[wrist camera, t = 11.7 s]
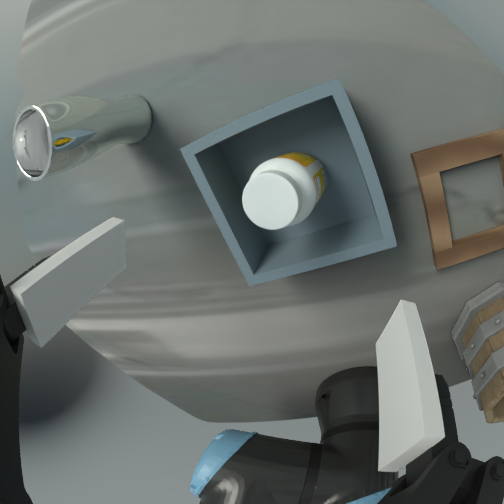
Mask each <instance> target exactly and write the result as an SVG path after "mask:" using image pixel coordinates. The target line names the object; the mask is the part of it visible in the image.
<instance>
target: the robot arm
mask: <svg viewBox="0 0 504 504" xmlns="http://www.w3.org/2000/svg"><path fill="white" fill-rule="evenodd" d="M126 268H127V267H126V251H125V227H124V220H121V219H118V218H114V217H112V218H110V219H108V220H107V221H105V222H104V223H102V224H100V225H99V226H97V227H95V228H94V229H92V230H91V231H89V232H87V233H86V234H84V235H83V236H81V237H80V238H78V239H76V240H75V241H73V242H72V243H70V244H69V245H67V246H66V247H64V248H63V249H61V250H60V251H58V252H57V253H55V254H54V255H52V256H49V257H47V258H44V259H42V260H41V261H39V262H38V263H36V264H35V266H32V267H31V268H30V269H28V271H25V272H24V273H23V274H21V275H20V276H19V277H17V278H16V279H15V280H13V281H12V282H11V283H9V284H8V285H7V286H5V287H4V285H3V282H2V279H1V276H0V504H33V503H32V501H31V499H30V497H29V495H28V494H27V492H26V490H25V488H24V484H23V476H22V469H21V458H20V444H19V386H20V371H21V361H22V351H23V344H24V336H23V334H22V333H23V332H24V331H25V330H27V333H28V335H29V337H30V339H31V340H32V341H33V342H34V343H36V344H37V345H39V346H40V347H41V348H42V347H43V346H44V345H45V344H46V343H47V342H48V341H49V340H50V339H51V338H52V337H53V336H54V335H55V334H56V333H57V332H58V331H59V330H60V329H61V328H62V327H63V326H64V325H65V324H66V323H67V322H68V321H69V320H70V319H71V318H72V317H73V316H75V315H76V314H77V313H78V312H79V311H80V310H81V309H82V308H83V307H84V306H85V305H86V304H87V303H88V302H89V301H90V300H92V299H93V298H94V297H95V296H96V295H97V294H98V293H99V292H100V291H101V290H102V289H104V288H105V287H106V286H107V285H108V284H109V283H110V282H111V281H112V280H114V279H115V278H116V277H117V276H118V275H119V274H120V273H121V272H123V271H124V270H125V269H126ZM376 354H377V367H358V368H352V369H348V370H344V371H341V372H338V373H336V374H334V375H332V376H330V377H328V378H327V379H326V380H324V381H323V382H322V383H321V385H320V386H319V388H318V390H317V394H316V401H315V408H316V412H317V417H318V421H319V425H320V429H321V442H320V444H318V443H309V442H301V441H295V440H288V439H282V438H276V437H271V436H265V435H261V434H258V433H257V432H253V433H250V432H245V431H239V430H233V429H231V430H225V431H223V432H221V433H219V434H218V435H217V436H216V437H215V438H214V439H213V440H212V442H211V443H210V444H209V446H208V447H207V448H206V450H205V452H204V453H203V455H202V457H201V459H200V461H199V463H198V464H197V467H196V469H195V471H194V474H193V477H192V481H191V482H192V484H191V486H190V491H191V493H192V494H193V495H195V496H196V497H197V498H201V501H200V504H502V502H503V498H504V459H502V458H501V457H498V456H495V457H492V458H491V459H489V460H488V461H486V462H482V461H479V460H476V459H473V458H471V454H470V451H469V449H468V448H467V447H466V446H465V445H464V444H462V443H461V442H459V441H458V435H457V429H456V423H455V417H454V412H453V409H452V402H451V399H450V392H449V388H448V385H447V383H446V382H445V380H444V378H443V376H442V375H437V374H434V371H433V366H432V362H431V358H430V354H429V350H428V346H427V342H426V338H425V334H424V331H423V327H422V324H421V320H420V317H419V314H418V310H417V307H416V304H415V303H412V302H409V301H405V300H400V302H399V304H398V306H397V307H396V309H395V311H394V313H393V315H392V317H391V318H390V320H389V322H388V324H387V326H386V327H385V329H384V331H383V332H382V334H381V336H380V338H379V339H378V341H377V343H376ZM405 466H406V474H405V475H403V476H402V477H400V478H398V471H399V470H400V469H402V468H403V467H405Z"/></svg>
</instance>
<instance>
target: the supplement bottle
mask: <svg viewBox="0 0 504 504" xmlns="http://www.w3.org/2000/svg"><path fill="white" fill-rule="evenodd" d="M326 183H327V177H326V172H325V169H324V167H323V165H322V164H321V163H320V161H319V160H318V159H317V158H315V157H314V156H312V155H311V154H308V153H305V152H299V151H297V152H290V153H287V154H284V155H281V156H278V157H276V158H273V159H270V160H267V161H265V162H264V163H262V164H260V165H259V166H258V167H257V168H256V169H255V170H254V172H253V173H252V175H251V177H250V180H249V182H248V183H247V184H246V186H245V188H244V191H243V195H242V203H243V208H244V211H245V213H246V215H247V216H248V218H249V219H250V220H251V221H252V222H253V223H255V224H256V225H257V226H259V227H261V228H264V229H268V230H277V229H281V228H284V227H286V226H292V225H295V224H298V223H300V222H301V221H303V220H304V219H306V218H307V217H308V216H309V214H310V213H311V212H312V210H313V209H314V207H315V205H316V204H317V202H318V201H319V199H320V198H321V196H322V195H323V193H324V191H325V188H326Z"/></svg>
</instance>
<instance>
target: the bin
mask: <svg viewBox="0 0 504 504" xmlns="http://www.w3.org/2000/svg"><path fill="white" fill-rule="evenodd" d="M180 151H181V153H182V155H183V157H184V159H185V161H186V163H187V165H188V167H189V169H190V171H191V173H192V175H193V177H194V179H195V181H196V183H197V185H198V187H199V189H200V191H201V193H202V195H203V197H204V199H205V201H206V203H207V205H208V207H209V209H210V211H211V213H212V215H213V217H214V219H215V221H216V223H217V225H218V227H219V229H220V231H221V233H222V235H223V237H224V239H225V241H226V243H227V244H228V246H229V248H230V250H231V252H232V254H233V256H234V258H235V260H236V262H237V264H238V266H239V268H240V270H241V272H242V274H243V276H244V277H245V279H246V281H247V283H248V285H249V286H252V285H256V284H260V283H264V282H268V281H272V280H276V279H280V278H284V277H288V276H291V275H295V274H299V273H303V272H307V271H310V270H314V269H318V268H322V267H325V266H329V265H333V264H336V263H340V262H343V261H347V260H351V259H354V258H358V257H361V256H365V255H368V254H372V253H375V252H379V251H382V250H386V249H389V248H393V247H396V246H397V243H396V239H395V235H394V231H393V227H392V223H391V219H390V216H389V212H388V208H387V205H386V201H385V198H384V195H383V191H382V188H381V185H380V182H379V178H378V175H377V172H376V169H375V166H374V163H373V160H372V157H371V155H370V152H369V149H368V146H367V144H366V141H365V138H364V135H363V133H362V130H361V128H360V125H359V123H358V120H357V118H356V115H355V113H354V110H353V108H352V106H351V103H350V101H349V99H348V96H347V94H346V92H345V90H344V88H343V85H342V83H341V81H340V79H339V78H338V79H335V80H333V81H330V82H327V83H324V84H321V85H318V86H316V87H313V88H310V89H308V90H305V91H302V92H300V93H297V94H295V95H292V96H290V97H287V98H285V99H282V100H280V101H278V102H275V103H273V104H270V105H268V106H266V107H264V108H261V109H259V110H257V111H255V112H252V113H250V114H248V115H246V116H244V117H242V118H239V119H237V120H235V121H233V122H231V123H229V124H227V125H225V126H223V127H221V128H219V129H217V130H215V131H213V132H211V133H209V134H207V135H205V136H203V137H201V138H199V139H198V140H196V141H194V142H192V143H190V144H188V145H186V146H185V147H183V148H181V149H180ZM297 151H299V152H305V153H308V154H311V155H312V156H314V157H315V158H317V159H318V160H319V161H320V163H321V164H322V165H323V167H324V169H325V172H326V177H327V183H326V188H325V191H324V193H323V195H322V196H321V198H320V199H319V201H318V202H317V204H316V205H315V207H314V209H313V210H312V212H311V213H310V214H309V216H308V217H307V218H306V219H304V220H303V221H301V222H300V223H298V224H295V225H292V226H286V227H284V228H281V229H277V230H268V229H264V228H261V227H259V226H257V225H256V224H255V223H253V222H252V221H251V220H250V219H249V218H248V216H247V215H246V213H245V211H244V208H243V203H242V195H243V191H244V188H245V186H246V184H247V183H248V182H249V180H250V177H251V175H252V173H253V172H254V170H255V169H256V168H257V167H258V166H259V165H260V164H262V163H264V162H265V161H267V160H270V159H273V158H276V157H278V156H281V155H284V154H287V153H290V152H297Z"/></svg>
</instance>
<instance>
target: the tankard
mask: <svg viewBox="0 0 504 504" xmlns="http://www.w3.org/2000/svg"><path fill="white" fill-rule="evenodd" d="M451 335H452V337H453V340H454V342H455V345H456V347H457V350H458V352H459V355H460V357H461V359H465V361H466V365H467V367H466V371H469V373H470V376H471V379H472V385H473V389H474V393H475V394H474V396H473V398H474V399H476V400H477V403H478V406H479V410H481V411H482V410H484V414H485V418H486V422H487V423H497V422H504V283H503V282H497V283H495V284H494V285H492V286H491V287H489V288H488V289H486V290H485V291H483V292H482V293H480V294H479V295H477V296H475V297H474V298H472V299H471V300H469V301H467V302H466V304H465V306H464V308H463V310H462V312H461V314H460V316H459V318H458V320H457V322H456V324H455V326H454V328H453V329H452V331H451Z"/></svg>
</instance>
